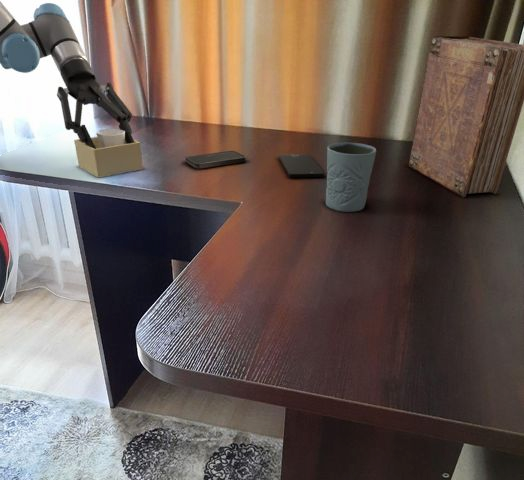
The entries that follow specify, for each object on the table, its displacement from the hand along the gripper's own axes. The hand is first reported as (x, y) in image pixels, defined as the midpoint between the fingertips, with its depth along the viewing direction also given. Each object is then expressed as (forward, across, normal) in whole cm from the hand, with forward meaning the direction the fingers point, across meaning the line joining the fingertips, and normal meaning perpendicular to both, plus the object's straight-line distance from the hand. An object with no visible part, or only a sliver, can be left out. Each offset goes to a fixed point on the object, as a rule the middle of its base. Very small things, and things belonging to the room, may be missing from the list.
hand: (113, 149), depth 124 cm
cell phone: (+21, -40, +14) cm, 47 cm away
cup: (+1, 0, -6) cm, 6 cm away
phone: (+9, -25, +2) cm, 27 cm away
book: (+42, -64, +35) cm, 84 cm away
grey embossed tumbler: (+40, -29, +32) cm, 59 cm away
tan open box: (+2, 0, -6) cm, 6 cm away
